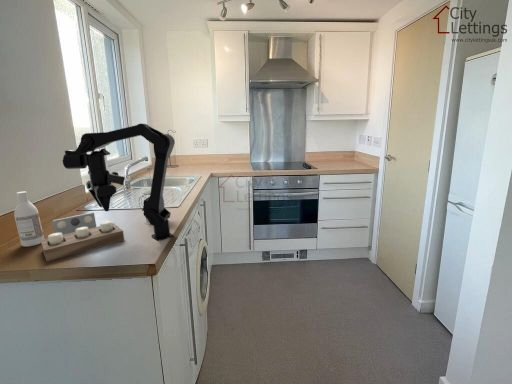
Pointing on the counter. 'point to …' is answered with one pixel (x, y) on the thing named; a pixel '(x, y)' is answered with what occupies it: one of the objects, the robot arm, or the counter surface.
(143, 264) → the counter surface
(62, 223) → the placard
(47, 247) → the board
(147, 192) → the french press
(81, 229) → the button middle
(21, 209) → the bath foam
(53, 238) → the button
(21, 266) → the counter surface
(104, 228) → the button
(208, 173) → the counter surface
